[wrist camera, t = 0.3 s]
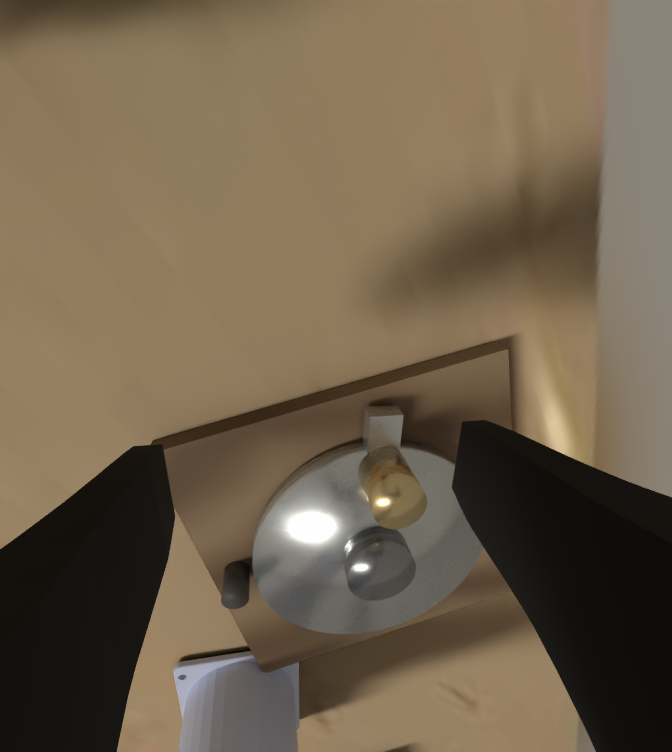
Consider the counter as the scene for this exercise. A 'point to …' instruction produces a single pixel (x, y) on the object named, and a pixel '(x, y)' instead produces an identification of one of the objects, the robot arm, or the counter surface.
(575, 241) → the counter surface
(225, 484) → the walnut board
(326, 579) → the flange plate
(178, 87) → the counter surface
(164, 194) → the counter surface
